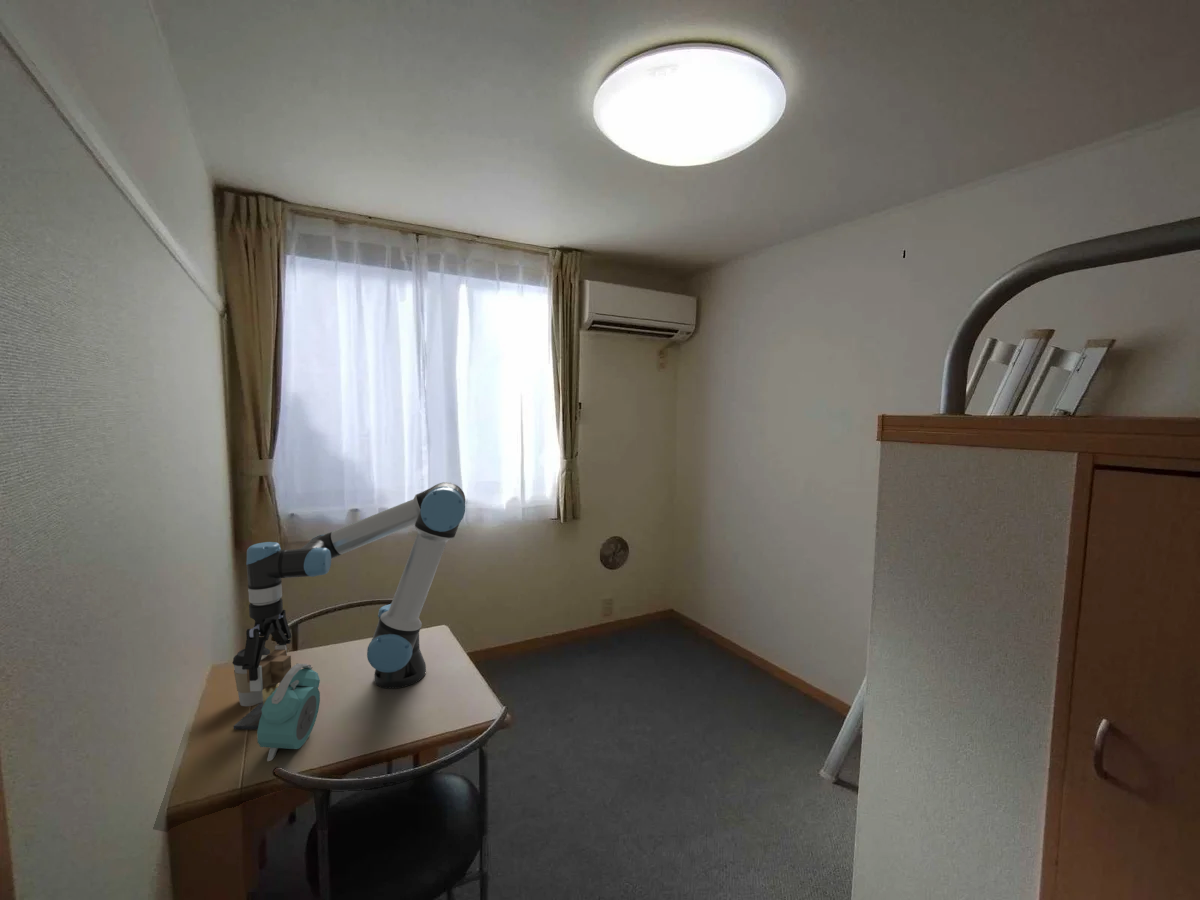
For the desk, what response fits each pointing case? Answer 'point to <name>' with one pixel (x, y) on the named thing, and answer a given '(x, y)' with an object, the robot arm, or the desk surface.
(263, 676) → the cross cap
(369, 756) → the desk surface
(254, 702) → the coffee cup
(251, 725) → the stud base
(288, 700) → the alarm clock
